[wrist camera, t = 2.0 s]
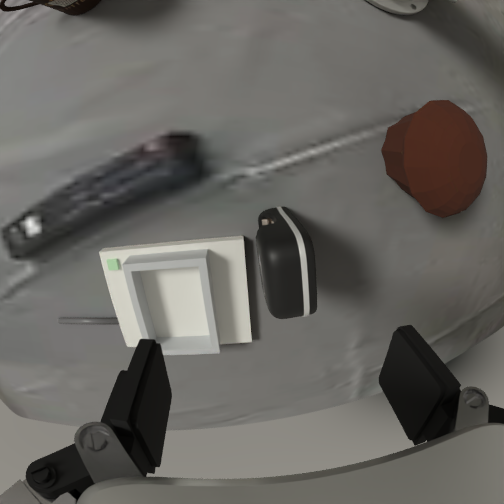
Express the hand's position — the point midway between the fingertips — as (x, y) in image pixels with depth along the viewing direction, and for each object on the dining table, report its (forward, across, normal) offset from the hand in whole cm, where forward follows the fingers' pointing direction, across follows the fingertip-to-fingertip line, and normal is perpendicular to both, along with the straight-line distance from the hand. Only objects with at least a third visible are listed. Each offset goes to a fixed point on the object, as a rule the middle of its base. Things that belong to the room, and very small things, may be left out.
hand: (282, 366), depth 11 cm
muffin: (+21, -19, -9) cm, 30 cm away
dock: (+21, +13, +9) cm, 27 cm away
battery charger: (+21, -2, +2) cm, 22 cm away
